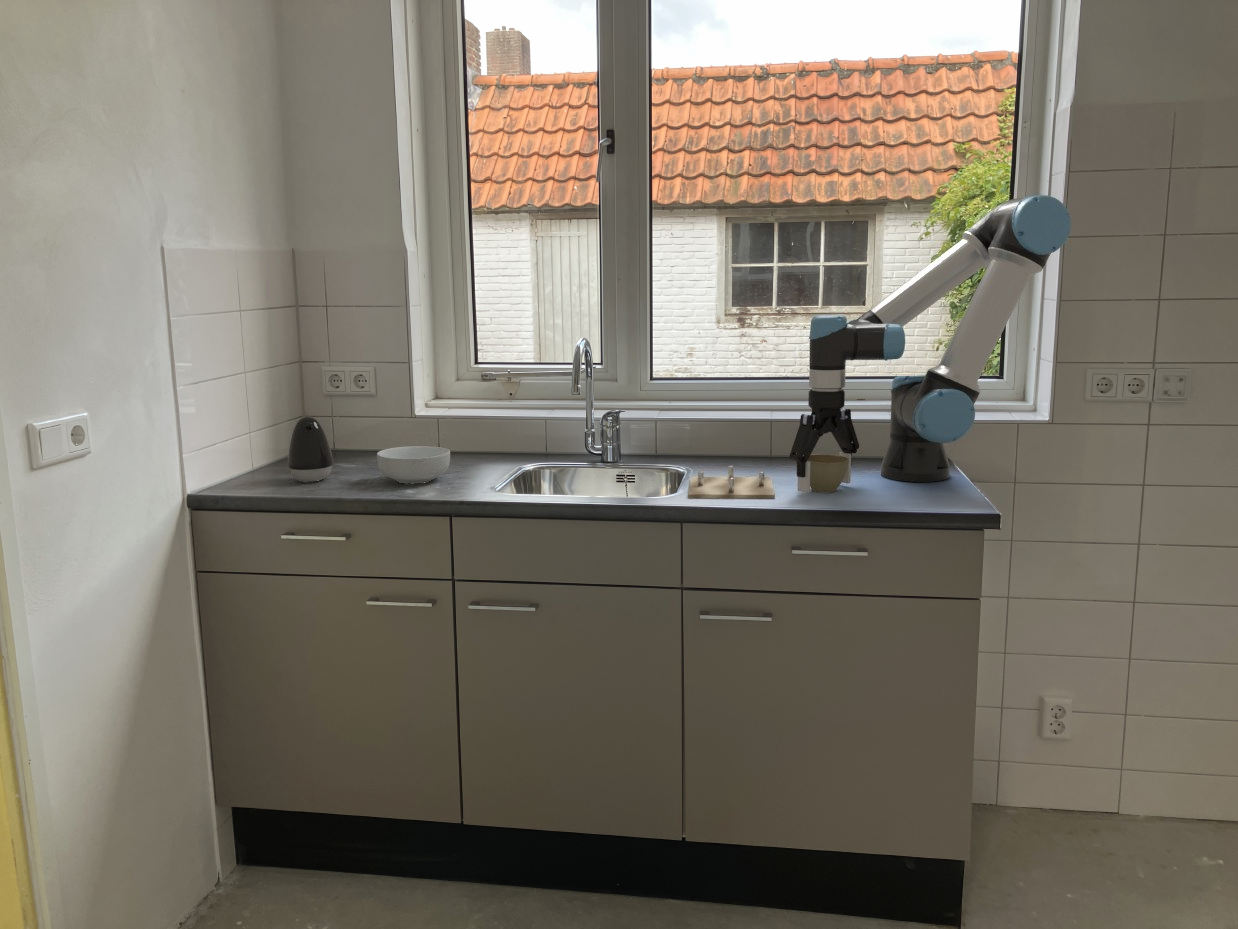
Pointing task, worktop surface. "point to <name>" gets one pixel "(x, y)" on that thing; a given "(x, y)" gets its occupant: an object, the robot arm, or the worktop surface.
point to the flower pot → (827, 472)
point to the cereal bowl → (413, 463)
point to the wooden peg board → (731, 486)
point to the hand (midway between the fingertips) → (824, 487)
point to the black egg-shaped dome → (309, 451)
